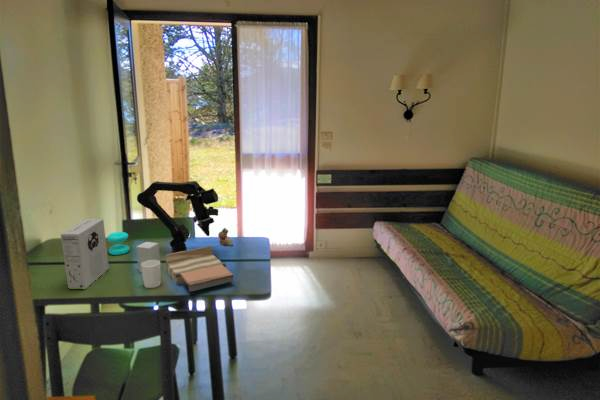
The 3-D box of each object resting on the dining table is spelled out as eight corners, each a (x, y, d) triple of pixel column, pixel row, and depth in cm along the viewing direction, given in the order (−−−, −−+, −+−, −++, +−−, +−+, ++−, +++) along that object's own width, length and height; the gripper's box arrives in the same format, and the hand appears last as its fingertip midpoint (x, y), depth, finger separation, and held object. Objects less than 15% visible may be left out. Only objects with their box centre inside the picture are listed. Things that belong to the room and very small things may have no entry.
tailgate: (180, 273, 186) (190, 284, 175) (221, 264, 196) (233, 274, 185) (180, 279, 187) (190, 291, 176) (221, 270, 196) (233, 281, 186)
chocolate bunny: (226, 241, 240) (225, 224, 237) (234, 245, 234) (233, 227, 232) (217, 243, 236) (217, 226, 234) (225, 247, 231) (224, 230, 228)
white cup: (145, 281, 190) (143, 260, 188) (163, 280, 191) (162, 259, 188) (140, 289, 182) (138, 267, 180) (159, 288, 183) (157, 266, 181)
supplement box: (161, 268, 204) (159, 242, 201) (151, 274, 197) (149, 248, 194) (148, 265, 206) (146, 241, 203) (138, 271, 200) (135, 246, 196)
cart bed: (166, 271, 200) (164, 254, 198) (212, 261, 212) (211, 245, 209) (177, 286, 185) (175, 267, 183) (226, 274, 197) (225, 257, 195)
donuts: (105, 233, 222) (125, 229, 228) (107, 251, 225) (127, 247, 230) (109, 238, 214) (130, 235, 220) (111, 257, 217) (131, 253, 222)
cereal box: (93, 269, 202) (87, 218, 196) (109, 269, 202) (103, 218, 196) (68, 290, 181) (60, 233, 175) (85, 290, 181) (78, 234, 175)
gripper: (219, 202, 206) (228, 232, 210) (209, 199, 223) (218, 227, 226) (196, 210, 202) (207, 241, 205) (188, 206, 218) (198, 235, 222)
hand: (208, 235), depth 215 cm, fingers closed
